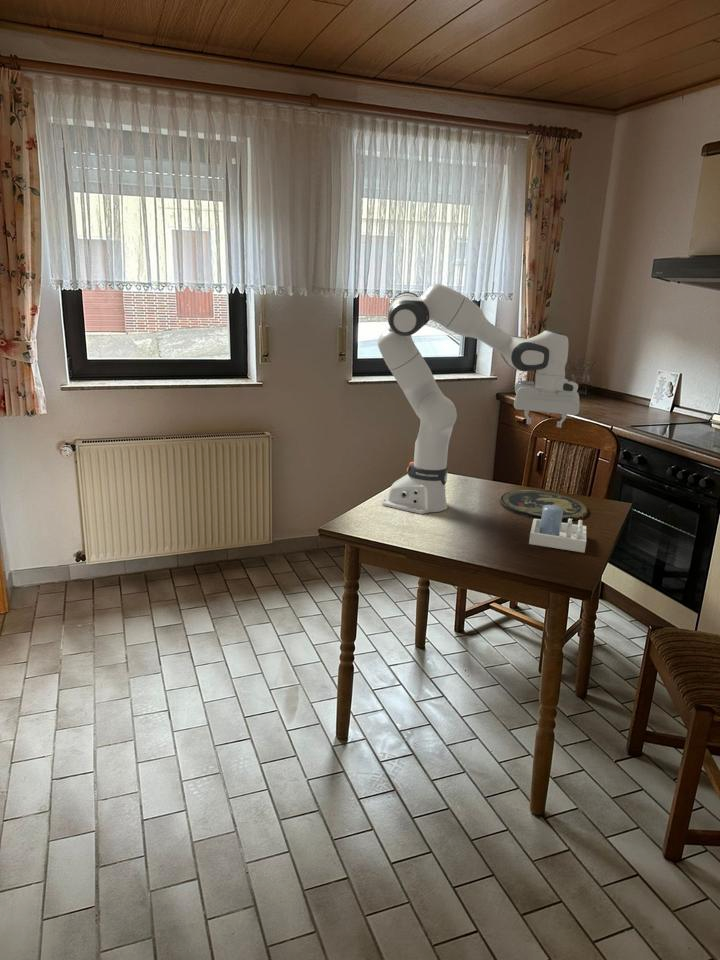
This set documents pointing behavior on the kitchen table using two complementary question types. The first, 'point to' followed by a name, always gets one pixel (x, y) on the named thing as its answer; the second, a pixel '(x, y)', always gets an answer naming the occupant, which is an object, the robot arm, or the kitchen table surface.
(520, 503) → the decorative plate
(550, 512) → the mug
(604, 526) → the kitchen table surface
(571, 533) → the white pegged tray
